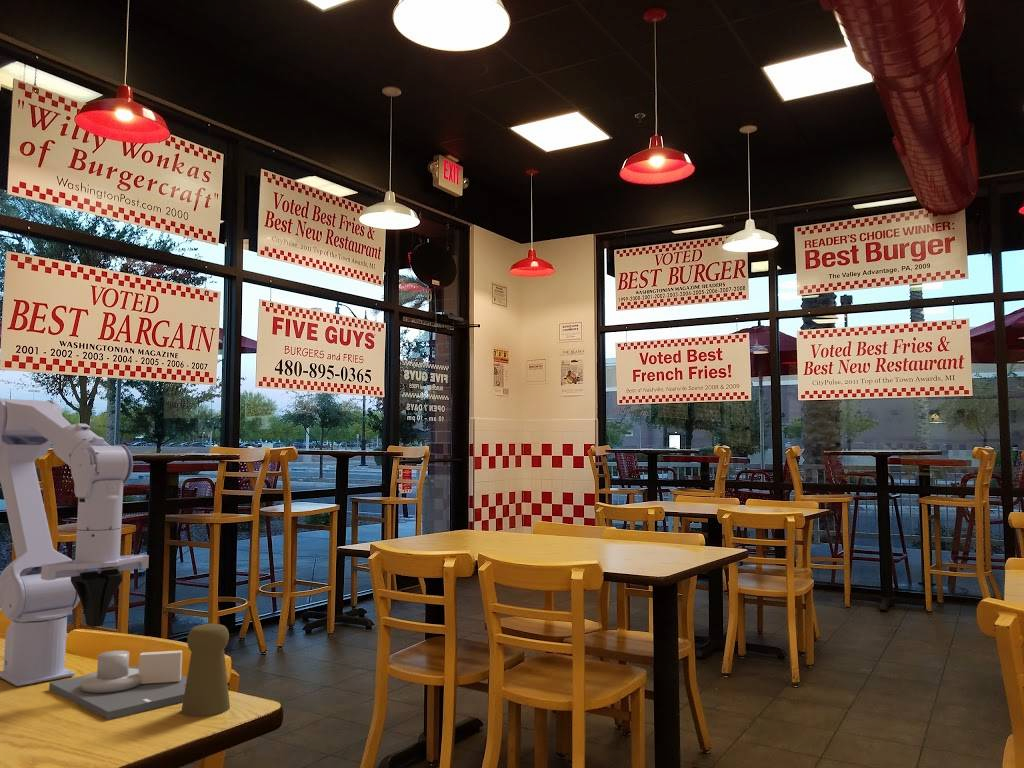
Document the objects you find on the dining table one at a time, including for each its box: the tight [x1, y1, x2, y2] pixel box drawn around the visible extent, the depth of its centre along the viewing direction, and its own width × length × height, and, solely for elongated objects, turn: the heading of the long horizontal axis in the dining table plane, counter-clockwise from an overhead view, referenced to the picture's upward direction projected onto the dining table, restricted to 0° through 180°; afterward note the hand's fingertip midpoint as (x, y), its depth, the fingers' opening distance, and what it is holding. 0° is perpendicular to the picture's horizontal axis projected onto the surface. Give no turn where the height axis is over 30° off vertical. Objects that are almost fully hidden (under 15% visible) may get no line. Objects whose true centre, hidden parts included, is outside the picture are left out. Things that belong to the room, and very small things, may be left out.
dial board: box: [48, 664, 187, 721], centre depth 113 cm, size 20×14×1 cm
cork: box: [180, 623, 231, 718], centre depth 106 cm, size 6×6×11 cm
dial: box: [80, 649, 183, 693], centre depth 114 cm, size 13×8×4 cm, turn 105°
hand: (94, 625), depth 113 cm, fingers closed
